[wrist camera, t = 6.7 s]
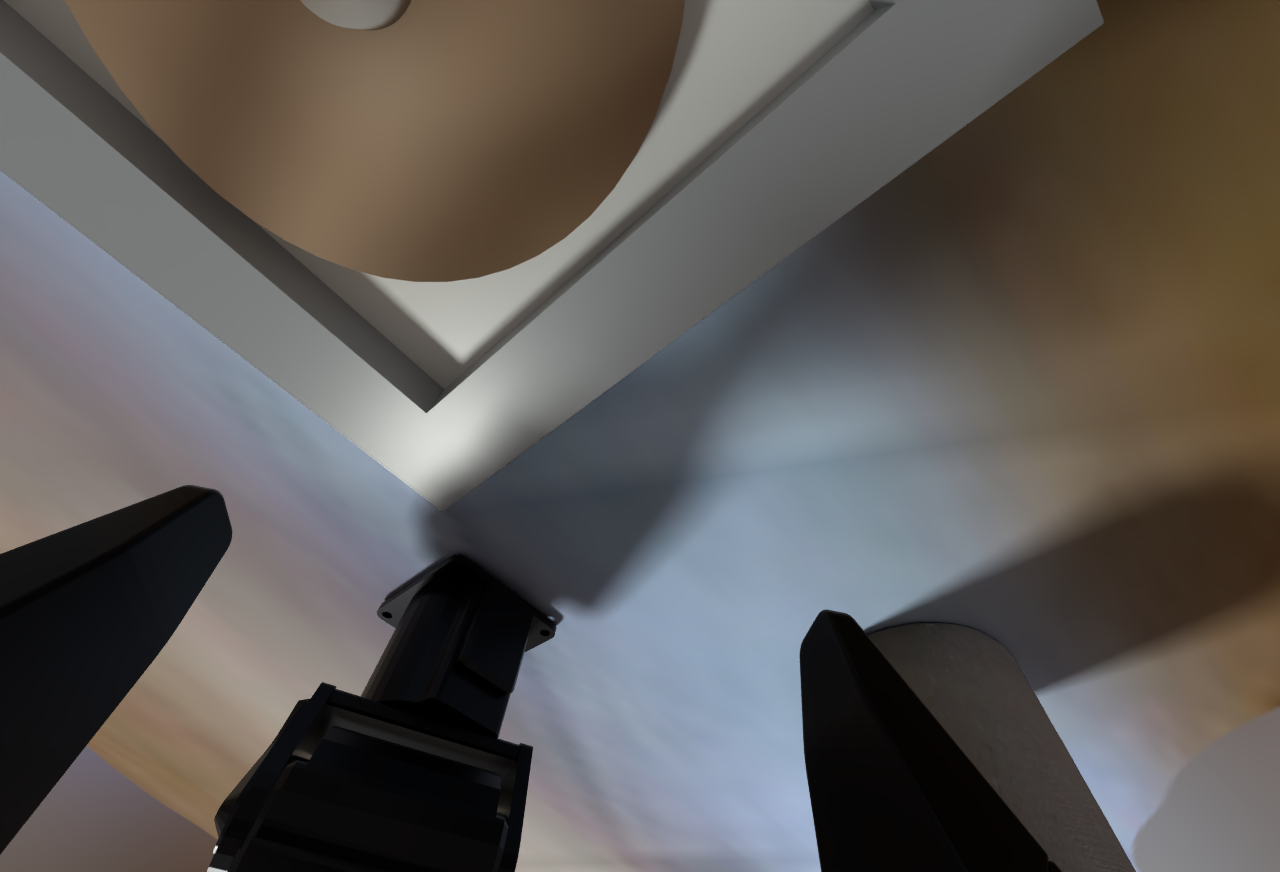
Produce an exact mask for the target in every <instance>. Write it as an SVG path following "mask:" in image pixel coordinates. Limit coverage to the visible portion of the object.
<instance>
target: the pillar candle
mask: <svg viewBox="0 0 1280 872" xmlns="http://www.w3.org/2000/svg"><path fill="white" fill-rule="evenodd" d="M868 637H869V638H870V639H871V640H872V642H873V643H874V644H875V645H876V646H877V648H878V649H879V650H880V651H881V653H882V654H883V655H884V656H885V657H886V659H887V660H888V661H889V662H890V663H891V665H892V666H893V667H894V668H895V670H896V671H897V672H898V673H899V674H900V676H901V677H902V678H903V679H904V680H905V682H906V683H907V684H908V685H909V687H910V688H911V689H912V690H913V691H914V693H915V694H916V695H917V696H918V697H919V699H920V700H921V701H922V702H923V704H924V705H925V706H926V707H927V708H928V710H929V711H930V712H931V713H932V714H933V716H934V717H935V718H936V719H937V721H938V722H939V723H940V724H941V725H942V727H943V728H944V729H945V730H946V731H947V733H948V734H949V735H950V736H951V738H952V739H953V740H954V741H955V742H956V744H957V745H958V746H959V747H960V748H961V750H962V751H963V752H964V753H965V755H966V756H967V757H968V758H969V759H970V761H971V762H972V763H973V764H974V765H975V767H976V768H977V769H978V770H979V772H980V773H981V774H982V775H983V776H984V778H985V779H986V780H987V781H988V783H989V784H990V785H991V786H992V787H993V789H994V790H995V791H996V792H997V793H998V795H999V796H1000V797H1001V798H1002V800H1003V801H1004V802H1005V803H1006V804H1007V806H1008V807H1009V808H1010V809H1011V810H1012V812H1013V813H1014V814H1015V815H1016V817H1017V818H1018V819H1019V820H1020V821H1021V823H1022V824H1023V825H1024V826H1025V827H1026V829H1027V830H1028V831H1029V832H1030V834H1031V835H1032V836H1033V837H1034V838H1035V840H1036V841H1037V842H1038V843H1039V844H1040V846H1041V847H1042V848H1043V849H1044V851H1045V852H1046V853H1047V855H1048V858H1049V861H1053V862H1054V863H1055V864H1056V865H1057V866H1058V867H1059V868H1060V870H1061V871H1062V872H1136V871H1135V869H1134V867H1133V866H1132V864H1131V862H1130V860H1129V859H1128V857H1127V855H1126V853H1125V852H1124V850H1123V848H1122V846H1121V844H1120V842H1119V841H1118V839H1117V837H1116V835H1115V834H1114V832H1113V830H1112V828H1111V826H1110V825H1109V823H1108V821H1107V819H1106V817H1105V816H1104V814H1103V812H1102V810H1101V809H1100V807H1099V805H1098V803H1097V802H1096V800H1095V798H1094V797H1093V795H1092V793H1091V791H1090V789H1089V788H1088V786H1087V784H1086V782H1085V781H1084V779H1083V777H1082V775H1081V774H1080V772H1079V770H1078V768H1077V766H1076V765H1075V763H1074V761H1073V759H1072V757H1071V756H1070V754H1069V752H1068V750H1067V749H1066V747H1065V745H1064V743H1063V742H1062V740H1061V738H1060V737H1059V735H1058V733H1057V732H1056V730H1055V728H1054V726H1053V725H1052V723H1051V721H1050V720H1049V718H1048V716H1047V714H1046V712H1045V710H1044V708H1043V707H1042V705H1041V703H1040V702H1039V700H1038V698H1037V696H1036V695H1035V693H1034V692H1033V690H1032V689H1031V687H1030V685H1029V683H1028V681H1027V680H1026V678H1025V676H1024V674H1023V672H1022V670H1021V668H1020V666H1019V665H1018V663H1017V661H1016V660H1015V658H1014V657H1013V656H1012V654H1011V653H1010V652H1009V651H1008V650H1007V649H1006V648H1005V647H1004V646H1003V645H1001V644H1000V643H999V642H997V641H995V640H994V639H992V638H991V637H989V636H988V635H986V634H984V633H982V632H980V631H978V630H975V629H973V628H968V627H965V626H960V625H956V624H947V623H915V624H908V625H903V626H898V627H892V628H888V629H886V630H884V631H879V632H876V633H873V634H870V635H868Z"/></svg>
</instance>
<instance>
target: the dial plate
mask: <svg viewBox="0 0 1280 872" xmlns="http://www.w3.org/2000/svg"><path fill="white" fill-rule="evenodd" d="M1102 24H1104V21H1103V18H1102V15H1101V12H1100V9H1099V6H1098V3H1097V0H685V5H684V13H683V22H682V29H681V33H680V37H679V42H678V46H677V50H676V55H675V59H674V63H673V68H672V72H671V75H670V78H669V81H668V84H667V87H666V89H665V92H664V95H663V98H662V101H661V104H660V107H659V109H658V112H657V115H656V117H655V119H654V121H653V123H652V125H651V127H650V129H649V131H648V133H647V135H646V137H645V139H644V141H643V143H642V145H641V147H640V149H639V151H638V153H637V155H636V156H635V158H634V159H633V161H632V162H631V164H630V165H629V167H628V168H627V170H626V171H625V173H624V174H623V176H622V178H621V179H620V181H619V182H618V184H617V185H616V187H615V188H614V189H613V191H612V192H611V193H610V194H609V195H608V196H607V197H606V199H605V200H604V201H603V202H602V203H601V204H600V206H599V207H598V208H597V209H596V210H595V211H594V212H593V214H592V215H591V216H590V217H589V218H588V219H586V220H585V221H584V222H583V223H582V224H581V225H580V226H578V227H577V228H576V229H575V230H574V231H573V232H571V233H570V234H569V235H568V236H567V237H566V238H565V239H563V240H561V241H560V242H558V243H557V244H555V245H554V246H552V247H551V248H549V249H548V250H546V251H544V252H543V253H541V254H540V255H538V256H536V257H534V258H532V259H530V260H528V261H525V262H523V263H521V264H519V265H516V266H514V267H512V268H510V269H507V270H504V271H500V272H497V273H493V274H490V275H486V276H483V277H479V278H473V279H466V280H458V281H451V282H413V281H405V280H397V279H390V278H383V277H379V276H375V275H371V274H367V273H363V272H359V271H355V270H351V269H348V268H346V267H343V266H341V265H338V264H335V263H333V262H330V261H327V260H325V259H322V258H319V257H317V256H315V255H313V254H311V253H309V252H307V251H305V250H303V249H301V248H299V247H297V246H295V245H293V244H291V243H289V242H287V241H285V240H283V239H282V238H280V237H279V236H277V235H275V234H274V233H272V232H271V231H269V230H268V229H266V228H264V227H263V226H261V225H260V224H258V223H256V222H255V221H253V220H252V219H250V218H249V217H248V216H246V215H245V214H244V213H242V212H241V211H240V210H238V209H237V208H236V207H234V206H233V205H232V204H231V203H229V202H228V201H227V200H225V199H224V198H223V197H221V196H220V195H219V194H218V193H216V192H215V191H214V190H213V189H212V188H211V187H210V186H209V185H208V184H206V183H205V182H204V181H203V180H202V179H201V178H200V177H199V176H198V175H197V174H196V173H194V172H193V171H192V170H191V169H190V168H189V167H188V166H187V165H186V164H185V163H184V162H183V161H182V160H181V159H180V158H179V157H178V156H177V155H176V154H175V153H174V152H173V151H172V150H171V149H170V147H169V146H168V145H167V144H166V143H165V142H164V141H163V140H162V139H161V138H160V137H159V136H158V135H157V133H156V132H155V131H154V130H153V129H152V128H151V127H150V126H149V124H148V123H147V122H146V121H145V119H144V118H143V117H142V116H141V114H140V113H139V112H138V110H137V109H136V108H135V107H134V105H133V104H132V103H131V102H130V100H129V99H128V98H127V97H126V95H125V94H124V93H123V92H122V90H121V89H120V88H119V86H118V85H117V83H116V82H115V80H114V79H113V77H112V76H111V74H110V73H109V71H108V70H107V69H106V67H105V66H104V64H103V63H102V61H101V60H100V58H99V57H98V55H97V54H96V52H95V51H94V49H93V48H92V46H91V45H90V43H89V42H88V40H87V38H86V36H85V35H84V33H83V31H82V29H81V28H80V26H79V24H78V22H77V20H76V19H75V17H74V15H73V13H72V12H71V10H70V8H69V6H68V5H67V3H66V1H65V0H0V171H2V172H3V173H4V174H6V175H7V176H8V177H9V178H11V179H12V180H13V181H15V182H16V183H17V184H19V185H20V186H21V187H22V188H24V189H25V190H26V191H28V192H29V193H30V194H31V195H33V196H34V197H35V198H37V199H38V200H39V201H41V202H42V203H43V204H44V205H46V206H47V207H48V208H50V209H51V210H52V211H53V212H55V213H56V214H57V215H59V216H60V217H61V218H63V219H64V220H65V221H66V222H68V223H69V224H70V225H72V226H73V227H74V228H75V229H77V230H78V231H79V232H81V233H82V234H83V235H85V236H86V237H87V238H88V239H90V240H91V241H92V242H94V243H95V244H96V245H97V246H99V247H100V248H101V249H103V250H104V251H105V252H107V253H108V254H109V255H110V256H112V257H113V258H114V259H116V260H117V261H118V262H119V263H121V264H122V265H123V266H125V267H126V268H127V269H129V270H130V271H131V272H132V273H134V274H135V275H136V276H138V277H139V278H140V279H141V280H143V281H144V282H145V283H147V284H148V285H149V286H151V287H152V288H153V289H154V290H156V291H157V292H158V293H160V294H161V295H162V296H163V297H165V298H166V299H167V300H169V301H170V302H171V303H173V304H174V305H175V306H176V307H178V308H179V309H180V310H182V311H183V312H184V313H185V314H187V315H188V316H189V317H191V318H192V319H193V320H195V321H196V322H197V323H198V324H200V325H201V326H202V327H204V328H205V329H206V330H207V331H209V332H210V333H211V334H213V335H214V336H215V337H217V338H218V339H219V340H220V341H222V342H223V343H224V344H226V345H227V346H228V347H229V348H231V349H232V350H233V351H235V352H236V353H237V354H239V355H240V356H241V357H242V358H244V359H245V360H246V361H248V362H249V363H250V364H251V365H253V366H254V367H255V368H257V369H258V370H259V371H261V372H262V373H263V374H264V375H266V376H267V377H268V378H270V379H271V380H272V381H273V382H275V383H276V384H277V385H279V386H280V387H281V388H283V389H284V390H285V391H286V392H288V393H289V394H290V395H292V396H293V397H294V398H295V399H297V400H298V401H299V402H301V403H302V404H303V405H305V406H306V407H307V408H308V409H310V410H311V411H312V412H314V413H315V414H316V415H317V416H319V417H320V418H321V419H323V420H324V421H325V422H327V423H328V424H329V425H330V426H332V427H333V428H334V429H336V430H337V431H338V432H339V433H341V434H342V435H343V436H345V437H346V438H347V439H349V440H350V441H351V442H352V443H354V444H355V445H356V446H358V447H359V448H360V449H361V450H363V451H364V452H365V453H367V454H368V455H369V456H371V457H372V458H373V459H374V460H376V461H377V462H378V463H380V464H381V465H382V466H383V467H385V468H386V469H387V470H389V471H390V472H391V473H393V474H394V475H395V476H396V477H398V478H399V479H400V480H402V481H403V482H404V483H405V484H407V485H408V486H409V487H411V488H412V489H413V490H415V491H416V492H417V493H418V494H420V495H421V496H422V497H424V498H425V499H426V500H427V501H429V502H430V503H431V504H433V505H434V506H435V507H437V508H438V509H439V510H440V511H442V512H443V511H444V510H446V509H447V508H448V507H450V506H451V505H452V504H454V503H455V502H456V501H458V500H459V499H460V498H462V497H463V496H465V495H466V494H467V493H469V492H470V491H471V490H473V489H474V488H475V487H477V486H478V485H479V484H481V483H482V482H483V481H485V480H486V479H488V478H489V477H490V476H492V475H493V474H494V473H496V472H497V471H498V470H500V469H501V468H502V467H504V466H505V465H507V464H508V463H509V462H511V461H512V460H513V459H515V458H516V457H517V456H519V455H520V454H521V453H523V452H524V451H525V450H527V449H528V448H530V447H531V446H532V445H534V444H535V443H536V442H538V441H539V440H540V439H542V438H543V437H544V436H546V435H547V434H548V433H550V432H551V431H553V430H554V429H555V428H557V427H558V426H559V425H561V424H562V423H563V422H565V421H566V420H567V419H569V418H570V417H572V416H573V415H574V414H576V413H577V412H578V411H580V410H581V409H582V408H584V407H585V406H586V405H588V404H589V403H590V402H592V401H593V400H595V399H596V398H597V397H599V396H600V395H601V394H603V393H604V392H605V391H607V390H608V389H609V388H611V387H612V386H613V385H615V384H616V383H618V382H619V381H620V380H622V379H623V378H624V377H626V376H627V375H628V374H630V373H631V372H632V371H634V370H635V369H637V368H638V367H639V366H641V365H642V364H643V363H645V362H646V361H647V360H649V359H650V358H651V357H653V356H654V355H655V354H657V353H658V352H660V351H661V350H662V349H664V348H665V347H666V346H668V345H669V344H670V343H672V342H673V341H674V340H676V339H677V338H678V337H680V336H681V335H683V334H684V333H685V332H687V331H688V330H689V329H691V328H692V327H693V326H695V325H696V324H697V323H699V322H700V321H702V320H703V319H704V318H706V317H707V316H708V315H710V314H711V313H712V312H714V311H715V310H716V309H718V308H719V307H720V306H722V305H723V304H725V303H726V302H727V301H729V300H730V299H731V298H733V297H734V296H735V295H737V294H738V293H739V292H741V291H742V290H743V289H745V288H746V287H748V286H749V285H750V284H752V283H753V282H754V281H756V280H757V279H758V278H760V277H761V276H762V275H764V274H765V273H767V272H768V271H769V270H771V269H772V268H773V267H775V266H776V265H777V264H779V263H780V262H781V261H783V260H784V259H785V258H787V257H788V256H790V255H791V254H792V253H794V252H795V251H796V250H798V249H799V248H800V247H802V246H803V245H804V244H806V243H807V242H808V241H810V240H811V239H813V238H814V237H815V236H817V235H818V234H819V233H821V232H822V231H823V230H825V229H826V228H827V227H829V226H830V225H832V224H833V223H834V222H836V221H837V220H838V219H840V218H841V217H842V216H844V215H845V214H846V213H848V212H849V211H850V210H852V209H853V208H855V207H856V206H857V205H859V204H860V203H861V202H863V201H864V200H865V199H867V198H868V197H869V196H871V195H872V194H873V193H875V192H876V191H878V190H879V189H880V188H882V187H883V186H884V185H886V184H887V183H888V182H890V181H891V180H892V179H894V178H895V177H897V176H898V175H899V174H901V173H902V172H903V171H905V170H906V169H907V168H909V167H910V166H911V165H913V164H914V163H915V162H917V161H918V160H920V159H921V158H922V157H924V156H925V155H926V154H928V153H929V152H930V151H932V150H933V149H934V148H936V147H937V146H938V145H940V144H941V143H943V142H944V141H945V140H947V139H948V138H949V137H951V136H952V135H953V134H955V133H956V132H957V131H959V130H960V129H962V128H963V127H964V126H966V125H967V124H968V123H970V122H971V121H972V120H974V119H975V118H976V117H978V116H979V115H980V114H982V113H983V112H985V111H986V110H987V109H989V108H990V107H991V106H993V105H994V104H995V103H997V102H998V101H999V100H1001V99H1002V98H1003V97H1005V96H1006V95H1008V94H1009V93H1010V92H1012V91H1013V90H1014V89H1016V88H1017V87H1018V86H1020V85H1021V84H1022V83H1024V82H1025V81H1027V80H1028V79H1029V78H1031V77H1032V76H1033V75H1035V74H1036V73H1037V72H1039V71H1040V70H1041V69H1043V68H1044V67H1045V66H1047V65H1048V64H1050V63H1051V62H1052V61H1054V60H1055V59H1056V58H1058V57H1059V56H1060V55H1062V54H1063V53H1064V52H1066V51H1067V50H1068V49H1070V48H1071V47H1073V46H1074V45H1075V44H1077V43H1078V42H1079V41H1081V40H1082V39H1083V38H1085V37H1086V36H1087V35H1089V34H1090V33H1092V32H1093V31H1094V30H1096V29H1097V28H1098V27H1100V26H1101V25H1102Z"/></svg>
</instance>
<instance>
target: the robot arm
mask: <svg viewBox="0 0 1280 872" xmlns="http://www.w3.org/2000/svg"><path fill="white" fill-rule="evenodd" d="M231 539H232V527H231V523H230V520H229V516H228V512H227V508H226V505H225V501H224V498H223V495H222V494H221V493H220V492H219V491H217V490H215V489H210V488H205V487H200V486H194V485H186V486H182V487H179V488H176V489H173V490H171V491H168V492H165V493H163V494H160V495H157V496H155V497H152V498H149V499H147V500H144V501H141V502H139V503H136V504H133V505H130V506H128V507H125V508H122V509H120V510H117V511H114V512H112V513H109V514H106V515H104V516H101V517H98V518H96V519H93V520H90V521H88V522H85V523H82V524H80V525H77V526H74V527H72V528H69V529H66V530H64V531H61V532H58V533H55V534H53V535H50V536H47V537H45V538H42V539H39V540H37V541H34V542H31V543H29V544H26V545H23V546H21V547H18V548H15V549H13V550H10V551H7V552H5V553H2V554H0V854H1V853H2V852H3V851H4V849H5V848H6V847H7V845H8V844H9V842H11V840H12V839H13V838H14V837H15V835H16V834H17V833H18V831H19V830H20V829H21V828H22V826H23V825H24V824H25V822H26V821H27V820H28V819H29V817H30V816H31V815H32V814H33V812H34V811H35V810H36V809H37V807H38V806H39V805H40V803H41V802H42V801H43V800H44V798H45V797H46V796H47V795H48V793H49V792H50V791H51V789H52V788H53V787H54V786H55V785H56V783H57V782H58V781H59V779H60V778H61V777H62V776H63V774H64V773H65V772H66V771H67V769H68V768H69V767H70V765H71V764H72V763H73V762H74V760H75V759H76V758H77V757H78V755H79V754H80V753H81V751H82V750H83V749H84V748H85V746H86V745H87V744H88V743H89V741H90V740H91V739H92V738H93V736H94V735H95V734H96V733H97V731H98V730H99V729H100V727H101V726H102V725H103V724H104V722H105V721H106V720H107V719H108V717H109V716H110V715H111V714H112V712H113V711H114V710H115V708H116V707H117V706H118V705H119V703H120V702H121V701H122V700H123V698H124V697H125V696H126V694H127V693H128V692H129V691H130V689H131V688H132V687H133V686H134V684H135V683H136V682H137V681H138V679H139V678H140V677H141V675H142V674H143V673H144V672H145V670H146V669H147V668H148V667H149V665H150V664H151V663H152V662H153V660H154V659H155V658H156V656H157V655H158V654H159V652H160V651H161V650H162V648H163V647H164V646H165V644H166V643H167V642H168V640H169V639H170V637H171V636H172V634H173V633H174V631H175V630H176V629H177V627H178V626H179V624H180V622H181V621H182V619H183V618H184V616H185V615H186V613H187V612H188V610H189V608H190V607H191V605H192V604H193V602H194V601H195V599H196V597H197V596H198V594H199V593H200V591H201V590H202V588H203V587H204V585H205V583H206V582H207V580H208V579H209V577H210V576H211V574H212V572H213V571H214V569H215V568H216V566H217V565H218V563H219V561H220V560H221V558H222V557H223V555H224V554H225V552H226V551H227V549H228V547H229V545H230V542H231ZM377 615H378V616H379V617H380V618H381V619H382V620H384V621H385V622H387V623H388V624H390V625H392V626H393V627H395V628H396V629H395V631H394V633H393V635H392V637H391V639H390V641H389V643H388V645H387V647H386V649H385V650H384V652H383V654H382V656H381V658H380V660H379V662H378V664H377V666H376V668H375V670H374V672H373V674H372V675H371V677H370V679H369V681H368V683H367V685H366V687H365V689H364V691H363V693H362V695H361V697H360V696H357V695H354V694H350V693H347V692H344V691H341V690H337V689H336V686H333V685H330V684H327V683H324V682H322V683H321V684H320V686H319V687H318V689H317V690H316V692H315V693H314V695H313V696H312V698H311V699H305V700H299V701H298V703H297V704H296V706H295V707H294V709H293V711H292V712H291V714H290V716H289V717H288V719H287V720H286V722H285V724H284V725H283V727H282V729H281V730H280V732H279V733H278V735H277V736H276V738H275V739H274V741H273V742H272V744H271V745H270V746H269V747H268V749H267V750H266V751H265V752H264V754H263V755H262V756H261V757H260V758H259V760H258V761H257V762H256V763H255V764H254V766H253V767H252V768H251V769H250V770H249V772H248V773H247V774H246V775H245V776H244V778H243V779H242V780H241V781H240V782H239V784H238V785H237V786H236V787H235V788H234V790H233V791H232V792H231V793H230V794H229V796H228V797H227V798H226V799H225V800H224V802H223V803H222V805H221V806H220V808H219V810H218V812H217V814H216V816H215V819H214V821H215V825H216V829H217V833H218V837H219V839H218V841H217V843H216V846H215V849H214V852H213V859H212V861H211V863H210V866H209V868H208V871H207V872H515V868H516V863H517V859H518V854H519V848H520V841H521V834H522V826H523V819H524V811H525V804H526V796H527V789H528V781H529V774H530V766H531V759H532V751H533V747H532V746H529V745H526V744H523V743H520V744H519V745H517V744H514V743H511V742H508V741H504V740H501V739H498V736H499V733H500V729H501V726H502V722H503V719H504V715H505V712H506V708H507V705H508V701H509V697H510V694H511V693H512V692H513V690H514V687H515V684H516V680H517V677H518V673H519V669H520V666H521V662H522V659H523V655H524V652H526V651H528V650H530V649H532V648H534V647H536V646H538V645H540V644H542V643H544V642H546V641H548V640H549V639H551V638H553V637H554V635H555V631H556V624H555V623H554V622H553V621H551V620H550V619H549V618H547V617H546V616H545V615H543V614H542V613H541V612H539V611H538V610H537V609H535V608H534V607H533V606H531V605H530V604H529V603H527V602H526V601H525V600H523V599H522V598H521V597H519V596H518V595H517V594H515V593H514V592H513V591H511V590H510V589H509V588H507V587H506V586H505V585H503V584H502V583H501V582H499V581H498V580H496V579H495V578H494V577H492V576H491V575H490V574H488V573H487V572H486V571H484V570H483V569H482V568H480V567H479V566H478V565H476V564H475V563H474V562H472V561H471V560H470V559H468V558H467V557H465V556H463V555H453V556H451V557H450V558H448V559H447V560H445V561H444V562H442V563H441V564H439V565H438V566H436V567H435V568H433V569H432V570H430V571H429V572H427V573H426V574H425V575H423V576H422V577H420V578H419V579H417V580H416V581H414V582H413V583H411V584H410V585H408V586H407V587H405V588H404V589H402V590H401V591H399V592H398V593H397V594H395V595H394V596H392V597H391V598H389V599H388V600H386V601H385V602H383V603H382V604H381V606H380V607H379V609H378V611H377ZM800 675H801V697H802V720H803V741H804V755H805V764H806V772H807V779H808V786H809V792H810V799H811V806H812V812H813V819H814V826H815V832H816V839H817V846H818V852H819V859H820V866H821V872H1062V871H1061V870H1060V868H1059V867H1058V866H1057V865H1056V864H1055V863H1054V862H1053V861H1049V858H1048V855H1047V853H1046V852H1045V851H1044V849H1043V848H1042V847H1041V846H1040V844H1039V843H1038V842H1037V841H1036V840H1035V838H1034V837H1033V836H1032V835H1031V834H1030V832H1029V831H1028V830H1027V829H1026V827H1025V826H1024V825H1023V824H1022V823H1021V821H1020V820H1019V819H1018V818H1017V817H1016V815H1015V814H1014V813H1013V812H1012V810H1011V809H1010V808H1009V807H1008V806H1007V804H1006V803H1005V802H1004V801H1003V800H1002V798H1001V797H1000V796H999V795H998V793H997V792H996V791H995V790H994V789H993V787H992V786H991V785H990V784H989V783H988V781H987V780H986V779H985V778H984V776H983V775H982V774H981V773H980V772H979V770H978V769H977V768H976V767H975V765H974V764H973V763H972V762H971V761H970V759H969V758H968V757H967V756H966V755H965V753H964V752H963V751H962V750H961V748H960V747H959V746H958V745H957V744H956V742H955V741H954V740H953V739H952V738H951V736H950V735H949V734H948V733H947V731H946V730H945V729H944V728H943V727H942V725H941V724H940V723H939V722H938V721H937V719H936V718H935V717H934V716H933V714H932V713H931V712H930V711H929V710H928V708H927V707H926V706H925V705H924V704H923V702H922V701H921V700H920V699H919V697H918V696H917V695H916V694H915V693H914V691H913V690H912V689H911V688H910V687H909V685H908V684H907V683H906V682H905V680H904V679H903V678H902V677H901V676H900V674H899V673H898V672H897V671H896V670H895V668H894V667H893V666H892V665H891V663H890V662H889V661H888V660H887V659H886V657H885V656H884V655H883V654H882V653H881V651H880V650H879V649H878V648H877V646H876V645H875V644H874V643H873V642H872V640H871V639H870V638H869V637H868V635H867V634H866V633H865V632H864V631H863V629H862V628H861V627H860V626H859V625H858V623H857V622H856V621H855V620H854V619H853V618H852V617H851V616H850V615H848V614H846V613H842V612H836V611H831V610H823V611H821V612H820V613H819V614H818V616H817V617H816V619H815V621H814V622H813V624H812V626H811V628H810V629H809V631H808V633H807V634H806V636H805V638H804V639H803V642H802V644H801V648H800Z"/></svg>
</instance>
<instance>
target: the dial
mask: <svg viewBox="0 0 1280 872" xmlns="http://www.w3.org/2000/svg"><path fill="white" fill-rule="evenodd" d="M65 1H66V3H67V5H68V6H69V8H70V10H71V12H72V13H73V15H74V17H75V19H76V20H77V22H78V24H79V26H80V28H81V29H82V31H83V33H84V35H85V36H86V38H87V40H88V42H89V43H90V45H91V46H92V48H93V49H94V51H95V52H96V54H97V55H98V57H99V58H100V60H101V61H102V63H103V64H104V66H105V67H106V69H107V70H108V71H109V73H110V74H111V76H112V77H113V79H114V80H115V82H116V83H117V85H118V86H119V88H120V89H121V90H122V92H123V93H124V94H125V95H126V97H127V98H128V99H129V100H130V102H131V103H132V104H133V105H134V107H135V108H136V109H137V110H138V112H139V113H140V114H141V116H142V117H143V118H144V119H145V121H146V122H147V123H148V124H149V126H150V127H151V128H152V129H153V130H154V131H155V132H156V133H157V135H158V136H159V137H160V138H161V139H162V140H163V141H164V142H165V143H166V144H167V145H168V146H169V147H170V149H171V150H172V151H173V152H174V153H175V154H176V155H177V156H178V157H179V158H180V159H181V160H182V161H183V162H184V163H185V164H186V165H187V166H188V167H189V168H190V169H191V170H192V171H193V172H194V173H196V174H197V175H198V176H199V177H200V178H201V179H202V180H203V181H204V182H205V183H206V184H208V185H209V186H210V187H211V188H212V189H213V190H214V191H215V192H216V193H218V194H219V195H220V196H221V197H223V198H224V199H225V200H227V201H228V202H229V203H231V204H232V205H233V206H234V207H236V208H237V209H238V210H240V211H241V212H242V213H244V214H245V215H246V216H248V217H249V218H250V219H252V220H253V221H255V222H256V223H258V224H260V225H261V226H263V227H264V228H266V229H268V230H269V231H271V232H272V233H274V234H275V235H277V236H279V237H280V238H282V239H283V240H285V241H287V242H289V243H291V244H293V245H295V246H297V247H299V248H301V249H303V250H305V251H307V252H309V253H311V254H313V255H315V256H317V257H319V258H322V259H325V260H327V261H330V262H333V263H335V264H338V265H341V266H343V267H346V268H348V269H351V270H355V271H359V272H363V273H367V274H371V275H375V276H379V277H383V278H390V279H397V280H405V281H413V282H451V281H458V280H466V279H473V278H479V277H483V276H486V275H490V274H493V273H497V272H500V271H504V270H507V269H510V268H512V267H514V266H516V265H519V264H521V263H523V262H525V261H528V260H530V259H532V258H534V257H536V256H538V255H540V254H541V253H543V252H544V251H546V250H548V249H549V248H551V247H552V246H554V245H555V244H557V243H558V242H560V241H561V240H563V239H565V238H566V237H567V236H568V235H569V234H570V233H571V232H573V231H574V230H575V229H576V228H577V227H578V226H580V225H581V224H582V223H583V222H584V221H585V220H586V219H588V218H589V217H590V216H591V215H592V214H593V212H594V211H595V210H596V209H597V208H598V207H599V206H600V204H601V203H602V202H603V201H604V200H605V199H606V197H607V196H608V195H609V194H610V193H611V192H612V191H613V189H614V188H615V187H616V185H617V184H618V182H619V181H620V179H621V178H622V176H623V174H624V173H625V171H626V170H627V168H628V167H629V165H630V164H631V162H632V161H633V159H634V158H635V156H636V155H637V153H638V151H639V149H640V147H641V145H642V143H643V141H644V139H645V137H646V135H647V133H648V131H649V129H650V127H651V125H652V123H653V121H654V119H655V117H656V115H657V112H658V109H659V107H660V104H661V101H662V98H663V95H664V92H665V89H666V87H667V84H668V81H669V78H670V75H671V72H672V68H673V63H674V59H675V55H676V50H677V46H678V42H679V37H680V33H681V29H682V22H683V13H684V5H685V0H65Z"/></svg>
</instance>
